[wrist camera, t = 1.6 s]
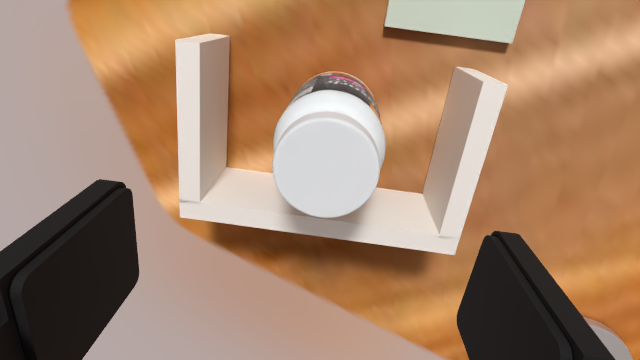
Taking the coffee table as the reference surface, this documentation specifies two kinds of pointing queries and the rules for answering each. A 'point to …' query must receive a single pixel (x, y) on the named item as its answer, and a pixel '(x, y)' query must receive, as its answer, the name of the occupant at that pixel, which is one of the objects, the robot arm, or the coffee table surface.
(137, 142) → the coffee table surface
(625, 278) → the coffee table surface
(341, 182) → the pill bottle
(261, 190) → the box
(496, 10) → the tile
